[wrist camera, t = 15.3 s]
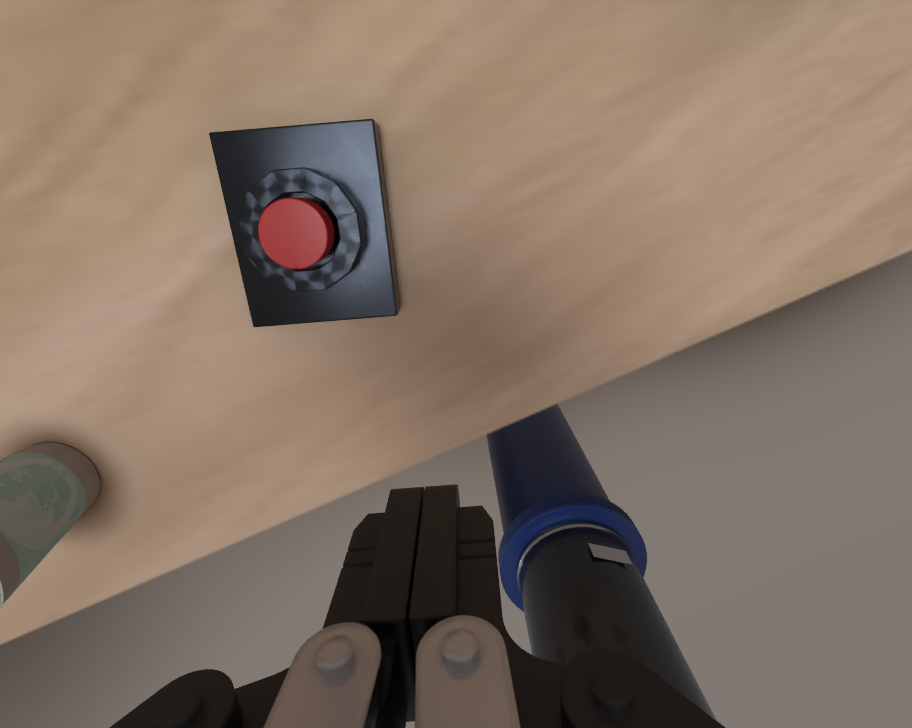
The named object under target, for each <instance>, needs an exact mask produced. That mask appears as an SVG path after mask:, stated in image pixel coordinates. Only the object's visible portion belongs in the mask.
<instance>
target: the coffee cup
mask: <svg viewBox="0 0 912 728" xmlns="http://www.w3.org/2000/svg"><path fill="white" fill-rule="evenodd" d="M99 491H100V478H99V475H98V472H97V470H96V468H95V467H94V465H93V464H92V463H91V462H90V460H89V459H88V458H87V457H85V456H84V455H83V454H82V453H80V452H79V451H77V450H75V449H73V448H71V447H69V446H66V445H63V444H59V443H52V442H46V443H39V444H35V445H33V446H30V447H28V448H26V449H24V450H22V451H19V452H17V453H15V454H13V455H11V456H8V457H6V458H4V459H2V460H0V612H1V609H2V605H3V604H4V602H5V601H6V600H7V599H8V598H9V597H10V596H11V595H12V594H13V592H14V591H15V590H16V589H17V588H18V587H19V586H20V584H21V583H22V582H23V581H24V580H25V579H26V578H27V577H28V575H29V574H30V573H31V572H32V571H33V570H34V569H35V567H36V566H37V565H38V564H39V563H40V562H41V561H42V560H43V558H44V557H45V556H46V555H47V554H48V553H49V552H50V550H51V549H52V548H53V547H54V546H55V545H56V544H57V542H58V541H59V540H60V539H61V538H62V537H63V536H64V535H65V533H66V532H67V531H68V530H69V529H70V528H71V527H72V525H73V524H74V523H75V522H76V521H77V520H78V519H79V518H80V516H81V515H82V514H83V513H84V512H85V511H86V509H87V508H88V507H89V506H90V505H91V504H92V503H93V501H94V500H95V499H96V498H97V496H98V494H99Z"/></svg>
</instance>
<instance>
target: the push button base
mask: <svg viewBox="0 0 912 728" xmlns="http://www.w3.org/2000/svg"><path fill="white" fill-rule="evenodd" d="M209 135H210V139H211V144H212V148H213V152H214V157H215V161H216V166H217V170H218V174H219V179H220V183H221V187H222V192H223V196H224V200H225V205H226V209H227V214H228V218H229V222H230V227H231V231H232V235H233V240H234V244H235V249H236V253H237V257H238V262H239V266H240V270H241V275H242V279H243V283H244V288H245V292H246V297H247V301H248V305H249V310H250V314H251V318H252V323H253V326H254V327H264V326H276V325H288V324H300V323H312V322H324V321H336V320H349V319H361V318H373V317H385V316H396V315H397V314H398V312H399V309H400V300H399V292H398V284H397V275H396V267H395V259H394V251H393V242H392V234H391V226H390V217H389V209H388V201H387V192H386V184H385V176H384V167H383V159H382V151H381V142H380V134H379V126H378V124H377V123H376V122H375V121H374V120H373V119H365V120H353V121H341V122H329V123H318V124H306V125H294V126H282V127H270V128H258V129H247V130H235V131H223V132H211V133H209ZM283 198H306V199H309V200H312V201H314V202H316V203H317V204H319V205H320V206H321V207H322V208H323V209H324V210H325V211H326V212H327V213H328V215H329V216H330V218H331V220H332V223H333V226H334V231H335V239H334V244H333V247H332V249H331V251H330V252H329V254H328V255H327V256H326V257H325V258H324V259H323V260H321V261H320V262H318V263H316V264H314V265H312V266H310V267H308V268H304V269H290V268H286V267H283V266H281V265H279V264H278V263H276V262H275V261H273V260H272V259H271V258H270V257H269V256H268V255H267V253H266V252H265V251H264V249H263V247H262V245H261V243H260V239H259V234H258V225H259V220H260V217H261V215H262V213H263V211H264V210H265V209H266V208H267V207H268V206H269V205H270V204H271V203H273V202H274V201H277V200H279V199H283Z"/></svg>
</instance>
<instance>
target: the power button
mask: <svg viewBox="0 0 912 728" xmlns="http://www.w3.org/2000/svg"><path fill="white" fill-rule="evenodd" d="M258 234H259V239H260V243H261V245H262V247H263V249H264V251H265V252H266V253H267V255H268V256H269V257H270V258H271V259H272V260H273V261H275V262H276V263H278V264H279V265H281V266H283V267H286V268H290V269H304V268H308V267H310V266H312V265H314V264H316V263H318V262H320V261H321V260H323V259H324V258H325V257H326V256H327V255H328V254H329V252H330V251H331V249H332V247H333V244H334V239H335V231H334V226H333V223H332V220H331V218H330V216H329V215H328V213H327V212H326V211H325V210H324V209H323V208H322V207H321V206H320V205H319V204H317V203H316V202H314V201H312V200H309V199H306V198H283V199H279V200H277V201H274V202H273V203H271V204H270V205H269V206H268V207H267V208H266V209H265V210H264V211H263V213H262V215H261V217H260V220H259V225H258Z"/></svg>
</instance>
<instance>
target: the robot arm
mask: <svg viewBox="0 0 912 728" xmlns="http://www.w3.org/2000/svg"><path fill="white" fill-rule="evenodd" d="M516 577H517V582H518V587H519V590H520V593H521V597H522V602H523V607H524V612H525V619H526V623H527V629H528V634H529V639H530V644H531V650H532V655H531V654H529V653H527V652H526V651H524V650H523V649H521V648H520V647H519V646H518V645H517V644H516V643H515V642H514V641H513V640H512V639H511V637H510V636H509V634H508V633H507V631H506V628H505V626H504V623H503V618H502V608H501V598H500V587H499V578H498V567H497V557H496V547H495V536H494V527H493V520H492V518H491V517H490V516H489V514H488V513H487V512H486V510H485V509H484V508H483V506H473V507H460V500H459V491H458V485H442V486H428V487H425V490H424V487H416V488H402V489H392V490H391V491H390V494H389V498H388V502H387V506H386V511H385V513H373V514H368V515H367V516H366V517H365V518H364V519H363V521H362V522H361V523H360V524H359V525H358V526H357V527H356V528H355V530H354V532H353V535H352V538H351V541H350V544H349V547H348V552H347V554H346V557H345V560H344V564H343V568H342V570H341V573H340V576H339V579H338V582H337V585H336V588H335V592H334V595H333V598H332V601H331V604H330V607H329V611H328V614H327V617H326V620H325V623H324V626H323V629H322V630H320V631H319V632H317V633H316V634H314V635H313V636H311V637H310V638H309V639H308V640H307V641H306V642H305V643H304V644H303V645H302V646H301V648H300V649H299V650H298V652H297V654H296V655H295V657H294V659H293V661H292V664H291V666H290V667H289V668H287V669H285V670H283V671H282V672H279V673H277V674H275V675H272V676H270V677H267V678H264V679H261V680H259V681H256V682H253V683H250V684H248V685H245V686H242V687H239V688H236V689H234V686H233V683H232V681H231V680H230V678H229V677H228V676H227V675H226V674H224V673H223V672H221V671H218V670H212V669H210V670H209V669H206V670H199V671H195V672H191V673H188V674H186V675H183V676H181V677H179V678H177V679H175V680H174V681H172V682H170V683H169V684H167V685H166V686H164V687H163V688H162V689H160V690H159V691H158V692H156V693H155V694H154V695H152V696H151V697H150V698H148V699H147V700H146V701H144V702H143V703H142V704H140V705H139V706H138V707H136V708H135V709H134V710H132V711H131V712H130V713H128V714H127V715H126V716H124V717H123V718H122V719H120V720H119V721H118V722H116V723H115V724H114V725H112V726H111V727H110V728H405V726H406V722H410V721H415V728H725V727H724V726H722V725H721V724H720V723H719V722H717V720H716V718H715V716H714V714H713V712H712V710H711V708H710V707H709V705H708V703H707V701H706V699H705V697H704V695H703V693H702V691H701V689H700V687H699V685H698V683H697V682H696V679H695V678H694V676H693V674H692V672H691V670H690V668H689V666H688V664H687V662H686V660H685V658H684V656H683V654H682V652H681V650H680V649H679V647H678V645H677V643H676V641H675V639H674V637H673V635H672V633H671V631H670V629H669V627H668V625H667V623H666V622H665V620H664V618H663V616H662V614H661V612H660V610H659V608H658V606H657V604H656V602H655V600H654V598H653V596H652V594H651V592H650V590H649V589H648V587H647V585H646V582H645V581H644V579H643V577H642V575H641V573H640V571H639V569H638V567H637V565H636V563H635V561H634V559H633V555H632V553H631V551H630V549H629V547H628V545H627V543H626V542H625V540H624V539H623V538H622V537H621V536H620V535H619V534H618V533H617V532H616V531H614V530H613V529H611V528H610V527H608V526H606V525H603V524H600V523H597V522H593V521H584V520H575V521H567V522H562V523H559V524H556V525H553V526H550V527H548V528H546V529H544V530H543V531H541V532H540V533H538V534H537V535H535V536H534V537H533V538H532V539H531V540H530V541H529V542H528V543H527V544H526V546H525V547H524V548H523V550H522V552H521V554H520V556H519V558H518V561H517V566H516Z"/></svg>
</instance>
